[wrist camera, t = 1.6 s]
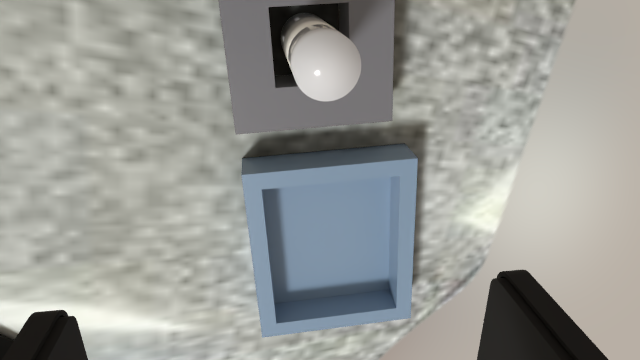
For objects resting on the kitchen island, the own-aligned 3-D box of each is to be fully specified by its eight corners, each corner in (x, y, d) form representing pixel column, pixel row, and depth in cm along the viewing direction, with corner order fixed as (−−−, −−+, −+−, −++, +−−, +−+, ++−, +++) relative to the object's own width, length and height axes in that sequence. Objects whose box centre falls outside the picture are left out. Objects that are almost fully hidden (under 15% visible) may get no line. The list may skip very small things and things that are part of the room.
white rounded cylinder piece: (278, 14, 30) (290, 33, 21) (328, 11, 30) (361, 29, 21) (282, 64, 31) (295, 104, 22) (329, 61, 31) (361, 98, 22)
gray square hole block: (217, -43, 28) (212, -44, 25) (379, -51, 29) (395, -53, 26) (237, 118, 32) (235, 134, 29) (378, 106, 33) (392, 120, 30)
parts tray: (242, 158, 33) (241, 175, 31) (404, 143, 34) (417, 158, 32) (261, 312, 39) (262, 337, 36) (399, 294, 40) (410, 318, 38)
